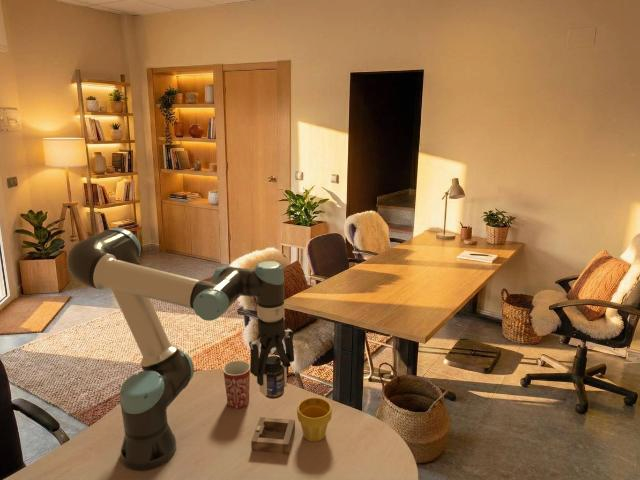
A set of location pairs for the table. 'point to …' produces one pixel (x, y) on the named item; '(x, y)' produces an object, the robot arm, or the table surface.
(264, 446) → the wooden tray
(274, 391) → the pill bottle
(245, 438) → the table surface
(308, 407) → the plant pot
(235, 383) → the mug
